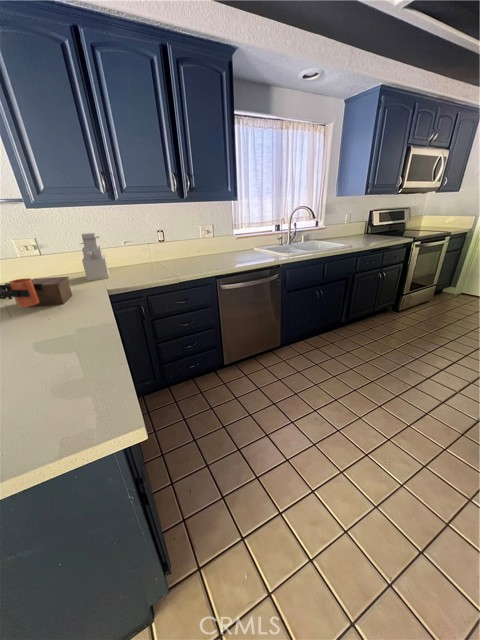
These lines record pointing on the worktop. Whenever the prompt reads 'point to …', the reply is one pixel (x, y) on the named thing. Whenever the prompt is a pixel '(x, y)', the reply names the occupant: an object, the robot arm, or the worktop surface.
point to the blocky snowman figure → (93, 258)
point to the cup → (25, 285)
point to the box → (54, 294)
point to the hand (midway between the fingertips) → (35, 290)
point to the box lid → (50, 281)
